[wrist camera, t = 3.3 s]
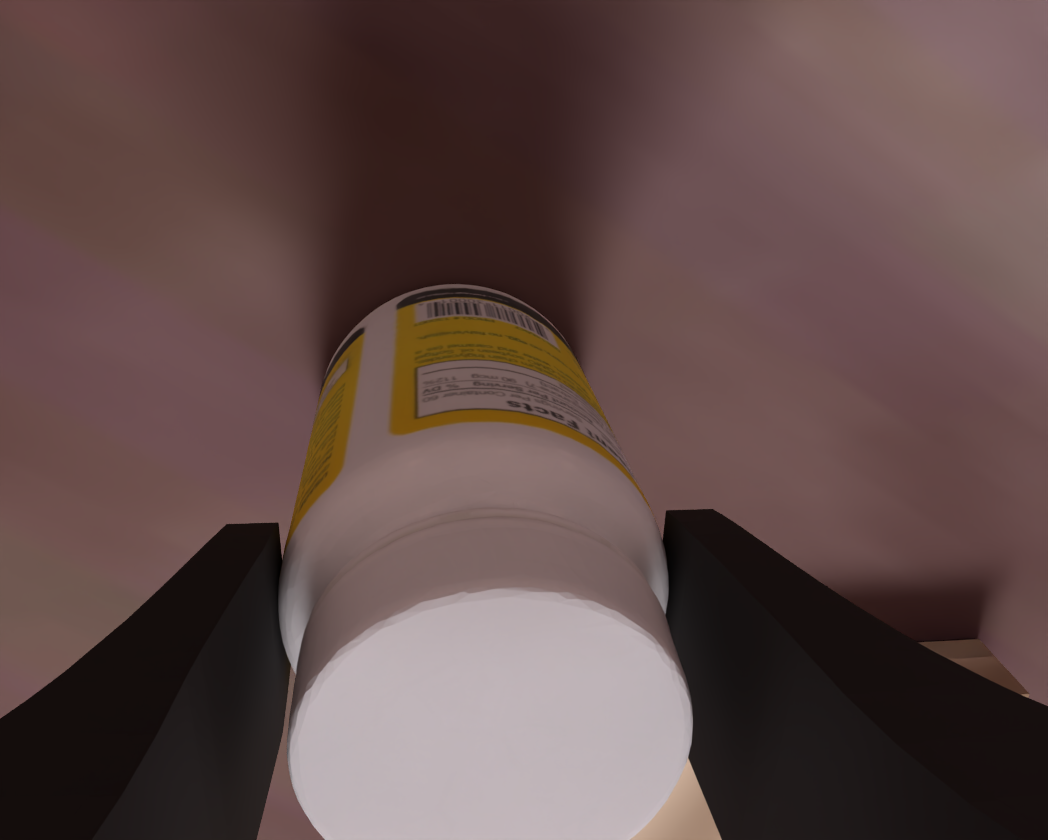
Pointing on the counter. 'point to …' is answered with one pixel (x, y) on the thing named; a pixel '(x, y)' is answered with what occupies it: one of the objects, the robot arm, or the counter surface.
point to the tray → (685, 819)
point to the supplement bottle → (475, 591)
